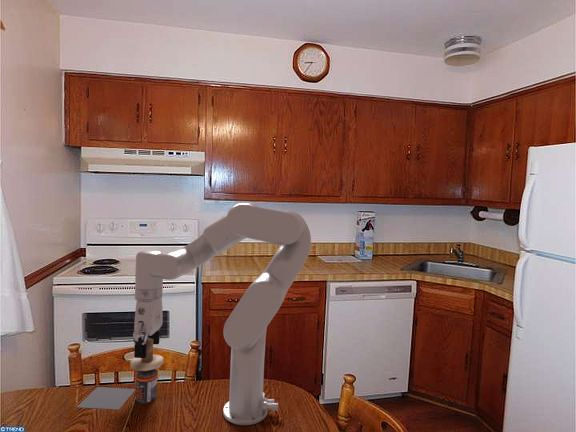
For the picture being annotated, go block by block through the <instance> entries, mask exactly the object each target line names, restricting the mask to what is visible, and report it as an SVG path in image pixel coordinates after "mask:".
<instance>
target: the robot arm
mask: <svg viewBox="0 0 576 432" xmlns="http://www.w3.org/2000/svg"><path fill="white" fill-rule="evenodd" d="M245 239H250V240H251V239H252V240H255V241H260V242H265V243H269V244H274V245H279V247H278V249H277V250H276V252H275V253H274V255H273V256H272V258H271V260H270V262H269V263H268V264H267V266H266V267H265V268H264V270H263V271H262V273H261V274H260V275H259V276H257V277H256V278H255V280H254V281H253V282H252V283H251V284H250V285H249V286H248V287H247V289H246V290H245V291H244V294H243V295H242V296H241V297H240V299H239V301H238V303H237V304H236V306H235V307H234V308H233V310H232V312H231V313H230V315H229V316H228V318H227V319H226V321H225V322H224V326H223V338H224V340H225V342H226V343H227V345H228V346H229V347H230V348H231V350H230V374H229V394H228V395H229V396H228V397H229V398H228V399H229V401H228V402H226V403H225V404H224V406H223V408H222V409H223V412H222V414H223V417H224V418H225V420H226V421H227V422H230V423H231V424H234V425H238V426H250V425H251V426H252V425H254V424H255V425H256V424H258V423H261V422H262V421H263V420H264V419H265V418H266V417H267V416H268V411H279V402H275V398H267V397H265V394H266V393H265V392H264V375H265V372H264V371H265V357H266V356H265V355H266V353H265V352H266V338H267V329H268V326H269V324H270V323H271V321H272V320H273V318H274V317H275V315H276V314H277V312H279V310H280V308H281V306H282V304H283V302H284V301H285V298H286V295H287V293H288V291H289V289H290V288H291V286H292V284H293V283H294V282H295V280H296V279H297V277H298V275H299V274H300V272H301V270H302V269H303V267H304V266H305V264H306V262H307V260H308V258H309V255H310V252H311V246H312V236H311V231H310V229H309V225H308V224H307V222H306V220H305V219H304V218H303V216H302V215H301V214H300V213H298V212H296V211H292V210H289V211H282V210H276V209H271V208H265V207H260V206H258V205H256V203H252V202H241V203H238V204H235V205H233V206H232V207H231V208H230V209H229V211H228V212H227V214H225V215H224V216H222V217H221V218H219V219H217V220H216V221H214V222H213V223H210V225H208V226H207V227H205V228H204V229H203V232H202V234H201V235H200V236H198V237H197V238H196V239H195V240H193V241H191V242H190V243H188V244H186V245H185V246H184V247H183V246H182V248H179V249H178V250H177V249H176V250H173V251H171V252H167V253H163V252H162V251H159V250H154V249H153V250H152V249H148V250H146V249H145V250H140V251H138V252H137V253H136V256H135V275H134V276H135V278H134V280H135V281H134V282H135V286H134V300H136V301H135V302H136V304H135V311H134V322H133V323H134V326H133V327H134V331H133V333H132V338H133V346H134V349H133V351H134V356H133V357H134V358H146V350H147V344H145V342H146V339H148V338H150V339H153V345H159V344H160V334H161V333H160V330H161V328H162V326H163V322H164V321H163V320H164V317H163V316H164V315H163V311H164V310H163V287H164V286H163V283H164V282H163V281H164V280H167V281H172V280H173V281H174V280H176V279H178V278H180V277H182V276H184V275H186V274H188V273H190V272H192V271H194V270H195V269H197V268H199V267H201V266H202V265H203V264H205V263H207V262H208V261H209V260H211V259H213V258H214V257H216V256H219V255H221V254H222V253H224V252H226V251H227V250H229V249H230V248H232V247H234V246H235V245H237V244H239V243H240V242H241V241H243V240H245ZM142 337H143V338H142Z"/></svg>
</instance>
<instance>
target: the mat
mask: <svg viewBox="0 0 576 432" xmlns="http://www.w3.org/2000/svg"><path fill="white" fill-rule="evenodd" d="M135 392H136V388H123V387H122V388H121V387H105V386H104V387H103V386H97V387H96V388H94V390H93V391H91V392H90V394H88V395H87V396H86V397H85V398H84V399H83V400H82V401H81V402H80V403H79V404H78V405H77V406H76V408H80V409H82V408H83V409H96V410H97V409H101V410H114V411H115V410H121V408H122V407H123V405H125V404H126V402H127V401H128V400H129V398H130V397H131V396H132V395H133V393H135Z"/></svg>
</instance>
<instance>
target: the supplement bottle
mask: <svg viewBox="0 0 576 432" xmlns="http://www.w3.org/2000/svg"><path fill="white" fill-rule="evenodd" d="M135 389H136V390H135V398H134V399H135V402H136V403H137V404H148V403H149V404H150V403H152V402H153V401H154V402H155V400H156V399H157V397H158V396H157V395H158V390H157V389H158V370H157V368H156V369H153V370H149V371H137V372H136V374H135Z"/></svg>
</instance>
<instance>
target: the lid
mask: <svg viewBox="0 0 576 432" xmlns="http://www.w3.org/2000/svg"><path fill="white" fill-rule="evenodd" d="M145 344H147V350H146V358H135V357H134V358H132V359H131V360H130V369H131V370H134V371H137V372H138V371H149V370H153V369H156V370H157V369H158V368H160V367H162V365H163V364H164V357H163V356H162V355H160V354H154V344H153V339H150V338H148V337H147V339H146V342H145Z"/></svg>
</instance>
